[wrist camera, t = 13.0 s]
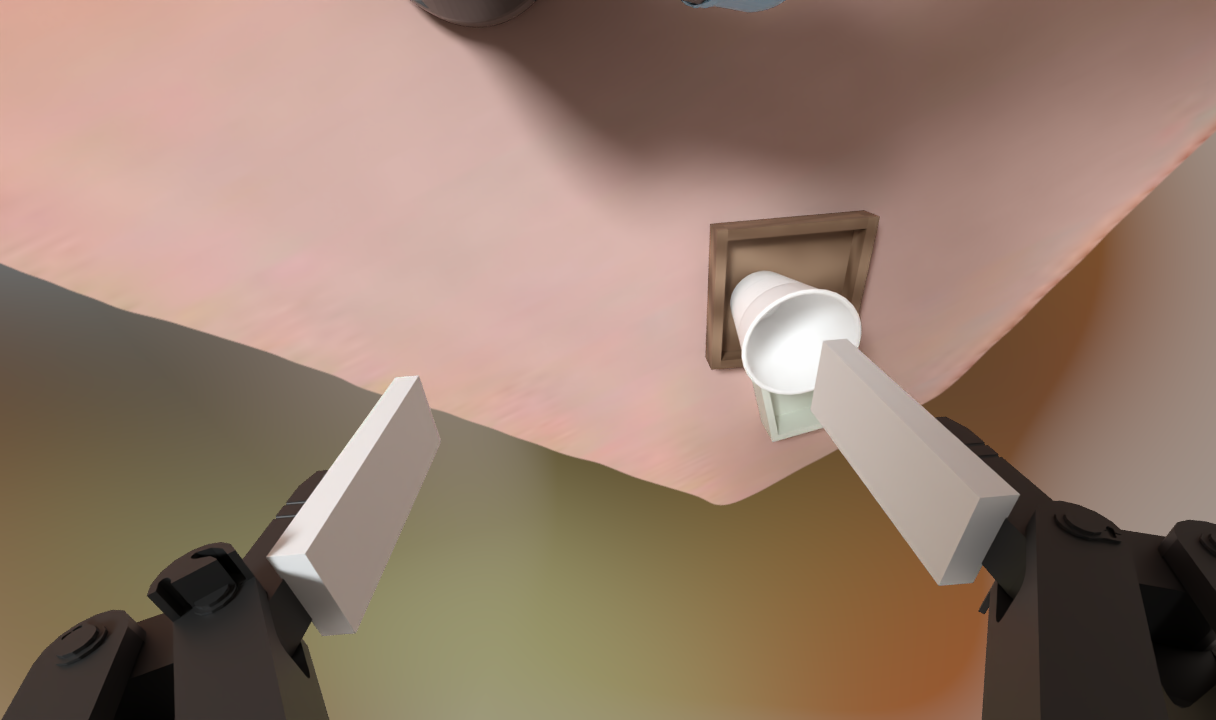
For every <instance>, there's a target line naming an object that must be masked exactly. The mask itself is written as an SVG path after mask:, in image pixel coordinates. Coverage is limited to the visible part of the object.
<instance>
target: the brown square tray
mask: <svg viewBox="0 0 1216 720" xmlns="http://www.w3.org/2000/svg"><path fill="white" fill-rule="evenodd" d="M879 218H880V216H877V215H874V214H872V213H869V212H866V211H864V210H863V211H852V212H841V213H829V214H818V215H807V216H795V217H784V218H772V219H761V220H750V221H738V222H727V223H716V224H710V245H709V274H708V302H707V331H706V359H707V361H708V363H709V366H710V368H711V370H713V369H724V368H736V367H744V366H743V362H742V349H741V346H740V341H739V338H738V334H737V331H736V326H735V323H734V319H733V316H732V312H731V307H730V299H731V295H732V293H733V290H734V289H735V287H736V286H737V284H738V283H739V282H740V281H741V280H742V279H744V278H745V277H746V276H748V275H750V274H752V273H755V272H758V271H772V272H775V273H778V274H780V275H783V276H785V277H788V278H790V279H793V280H796V281H798V282H801V283H804V284H806V285H809V286H812V287H815V288H817V289H825V290H829V291H832V292H836V293H838V294H839V295H841V296H843V297H845V298H846V299H847V300H848V301H849V302H850V303H851V304H852V305H853V306H854V308H855V309H856V311H857V313H858V314H859V310H860V305H861V300H862V296H863V291H864V287H865V282H866V278H867V273H868V269H869V264H870V259H871V255H872V250H873V246H874V241H875V237H876V232H877V228H878V223H879Z"/></svg>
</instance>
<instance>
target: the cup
mask: <svg viewBox="0 0 1216 720" xmlns="http://www.w3.org/2000/svg"><path fill="white" fill-rule="evenodd" d="M730 307H731V312H732V316H733V319H734V323H735V326H736V331H737V334H738V338H739V341H740V346H741V349H742V362H743V366H744V369H745V371H746V373H747V375H748V376H749V377H750V379H751V380H752V381H753V382H754V383H755V384H756V385H758V386H759V387H760V388H762V389H764V390H767V391H769V392H772V393H776V394H783V395H794V394H802V393H806V392H810V391H813V390H814V387H815V382H816V376H817V371H818V365H819V360H820V354H821V349H822V343H823V341H825V340H836V339H848V340H849V341H850V342H851V343H852V344H853V345H854V346H856V347H857V348H858V347H859V344H860V339H861V322H860V318H859V315H858V313H857V311H856V309H855V308H854V306H853V305H852V304H851V303H850V302H849V301H848V300H847V299H846V298H845V297H843V296H841V295H839V294H838V293H836V292H832V291H829V290H825V289H817V288H815V287H812V286H809V285H806V284H804V283H801V282H798V281H796V280H793V279H790V278H788V277H785V276H783V275H780V274H778V273H775V272H772V271H758V272H755V273H752V274H750V275H748V276H746V277H745V278H744V279H742V280H741V281H740V282H739V283H738V284H737V286H736V287H735V289H734V290H733V293H732V295H731V299H730Z"/></svg>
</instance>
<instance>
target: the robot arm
mask: <svg viewBox="0 0 1216 720" xmlns="http://www.w3.org/2000/svg"><path fill="white" fill-rule="evenodd" d="M411 1H412V2H413V3H415V4H416V5H418V6H419V7H421V8H422V9H424V10H426V11H427V12H429V13H431V14H432V15H434V16H436V17H438V18H440V19H443V20H445V21H448V22H451V23H454V24H457V25H462V26H468V27H486V26H493V25H497V24H500V23H503V22H506V21H508V20H510V19H513V18H514V17H516V16H518V15H519V14H521V13H522V12H524V11H525V10H526V9H527V8H529V7H530V6H531V5H532V4H533V3H534V2H535V1H536V0H411ZM681 1H682V2H683V3H684V4H686V5H687V6H690V7H693V8H699V7H702V8H708V7H712V6H716V7H721V8H727V9H733V10H738V11H744V12H757V11H763V10H768V9H770V8H773V7H775V6H777V5H779V4H781V3H782V2H784V1H785V0H681ZM810 410H811V411H812V413H813V414H814V415H815V417H816V418H817V420H818V421H819V422H820V424H821V425H822V426H823V428H824V429H825V431H826V432H827V433H828V435H829V436H830V437H831V439H832V440H833V442H834V443H835V444H836V446H837V447H838V448H839V450H840V451H841V453H842V454H843V455H844V457H845V458H846V459H847V461H848V462H849V463H850V465H851V466H852V468H853V469H854V470H855V472H856V473H857V474H858V476H859V477H860V478H861V480H862V481H863V483H864V484H865V485H866V487H867V488H868V490H869V491H870V492H871V494H872V495H873V496H874V497H875V499H876V500H877V502H878V503H879V505H880V506H881V507H882V509H883V510H884V511H885V513H886V514H887V515H888V517H889V518H890V520H891V521H892V522H893V524H894V525H895V527H896V528H897V529H898V531H899V532H900V533H901V535H902V536H903V538H904V539H905V540H906V542H907V543H908V544H909V546H910V547H911V548H912V550H913V551H914V553H915V554H916V555H917V557H918V558H919V559H920V561H921V562H922V564H923V565H924V566H925V568H926V569H927V570H928V572H929V573H930V574H931V576H932V577H933V578H934V580H935V581H936V582H937V584H938V585H939V586H941V585H953V584H965V583H973V582H974V580H975V578H976V576H977V574H978V573H979V571H980V569H981V567H982V565H983V566H984V567H985V568H986V569H987V571H988V572H989V573H990V574H991V575H992V576H993V578H994V579H995V582H994V584H993V585H992V587H991V589H990V591H989V592H988V594H987V596H986V598H985V599H984V601H983V603H982V605H981V607H980V609H979V612H981V613H983V614H985V613H986V611H987V609H988V608H989V619H988V633H987V648H986V664H985V679H984V694H983V710H982V720H1216V524H1213V523H1209V522H1205V521H1195V520H1186V521H1181V522H1178V523H1177V524H1176V525H1175V526H1174V527H1173V528H1172V530H1171V531H1170V532H1169V534H1168V535H1167V536H1166V537H1164V536H1158V535H1151V534H1145V533H1138V532H1132V531H1126V530H1121V529H1119V528H1118V527H1117V526H1116V525H1115V524H1114V523H1113V522H1112V521H1110V520H1108V519H1107V518H1105V517H1103V516H1102V515H1100V514H1098V513H1097V512H1095V511H1092V510H1090V509H1087V508H1085V507H1082V506H1080V505H1077V504H1073V503H1068V502H1064V501H1053V500H1052V499H1051V498H1049V497H1048V496H1047V495H1046V494H1045V493H1043V492H1042V491H1041V490H1040V489H1039V488H1038V487H1036V486H1035V485H1034V484H1033V483H1032V482H1031V481H1029V480H1028V479H1027V478H1026V477H1025V476H1023V475H1022V474H1021V473H1020V472H1019V471H1018V470H1016V469H1015V468H1014V467H1013V466H1012V465H1011V464H1009V463H1008V462H1007V461H1006V460H1005V459H1003V458H1002V457H999V456H998V453H996V452H995V451H994V450H993V449H992V448H990V447H989V446H988V445H985V444H984V442H983V441H982V440H981V439H980V438H979V437H978V436H976V435H975V434H974V433H973V432H972V431H970V430H969V429H968V428H966V427H964V426H962V425H961V424H959V423H957V422H955V421H953V420H951V419H949V418H947V417H936V418H934V417H933V416H932V415H931V414H930V413H929V412H928V411H926V409H924V408H923V407H922V406H921V405H920V404H919V403H918V402H917V401H916V400H914V399H913V398H912V397H911V396H910V395H909V394H908V393H907V392H906V391H904V390H903V389H902V388H901V387H900V386H899V385H898V384H897V383H896V382H894V381H893V380H892V379H891V378H890V377H889V376H888V375H887V374H886V373H884V372H883V371H882V370H881V369H880V368H879V367H878V366H877V365H876V364H874V363H873V362H872V361H871V360H870V359H869V358H868V357H867V356H866V355H864V354H863V353H862V352H861V351H860V350H859V349H858V348H857V347H856V346H854V345H853V344H852V343H851V342H850V341H849V340H848V339H836V340H825V341H823V343H822V349H821V354H820V360H819V365H818V371H817V376H816V382H815V387H814V393H813V398H812V404H811V409H810ZM440 443H441V439H440V436H439V433H438V430H437V427H436V425H435V422H434V419H433V416H432V413H431V410H430V407H429V404H428V401H427V398H426V395H425V392H424V389H423V386H422V383H421V381H420V378H419V375H418V376H406V377H395V379H394V380H393V381H392V383H391V384H390V386H389V387H388V388H387V390H386V391H385V393H384V394H383V395H382V397H381V398H380V399H379V401H378V402H377V404H376V405H375V406H374V408H373V409H372V411H371V412H370V414H369V415H368V416H367V418H366V419H365V420H364V422H363V423H362V425H361V426H360V427H359V429H358V430H357V431H356V433H355V434H354V436H353V437H352V438H351V440H350V441H349V443H348V444H347V446H346V447H345V448H344V449H343V451H342V452H341V454H340V455H339V456H338V458H337V459H336V461H335V462H334V463H333V465H332V466H331V468H330V469H329V470H323V471H317V472H316V473H314V474H313V475H312V476H311V477H309V478H308V479H307V480H306V481H304V482H303V483H302V484H301V485H300V486H299V487H298V488H297V489H296V490H295V492H294V493H293V495H292V496H291V497H290V498H289V500H288V501H287V504H286V505H285V506H283V507H282V509H281V510H280V511H279V513H278V514H277V515H276V519H273V520H272V522H271V523H270V524H269V526H268V527H267V528H266V530H265V531H264V532H263V533H262V535H261V536H260V538H259V539H258V540H257V541H256V543H255V544H254V545H253V546H252V548H251V549H250V551H249V552H248V553H247V554H246V556H245V557H244V558H243V559H242V558H241V557H240V556H239V554H237V552H236V550H235V549H234V548H233V547H232V545H231V544H228V543H222V542H219V543H213V544H208V545H205V546H202V547H200V548H197V549H194V550H192V551H190V552H188V553H187V554H185V555H184V556H182V557H180V558H178V559H177V560H175V561H174V562H173V563H172V564H170V565H169V566H168V567H167V568H166V569H164V570H163V571H162V572H161V573H160V574H159V575H158V577H157V578H156V579H155V580H154V581H153V583H152V584H151V586H150V589H149V591H148V594H147V596H148V597H149V598H150V599H151V600H152V601H153V602H154V603H155V605H156V606H157V607H159V608H160V610H161V611H162V612H163V614H160V615H157V616H154V617H151V618H149V619H145V620H143V621H140V622H135V621H134V620H133V619H132V618H131V617H130V616H129V615H128V614H127V613H126V612H125V611H123V610H111V611H107V612H104V613H100V614H97V615H95V616H93V617H90V618H89V619H86V620H85V621H82V622H80V623H78V624H77V625H76V626H74V627H72V628H71V629H70V630H68V631H66V632H65V633H63V634H62V635H61V636H59V637H58V638H57V639H56V640H55V641H54V642H53V643H51V644H50V645H49V646H48V647H47V648H46V649H45V650H44V651H43V652H42V654H41V655H40V656H39V657H38V659H37V660H36V661H35V662H34V664H33V665H32V667H31V669H30V671H29V672H28V674H27V676H26V677H25V679H24V681H23V683H22V685H21V686H20V688H19V690H18V692H17V694H16V695H15V697H14V699H13V700H12V703H11V704H10V706H9V707H8V709H7V711H6V713H5V715H4V716H3V718H2V720H329V717H328V714H327V711H326V707H325V703H324V700H323V697H322V693H321V690H320V686H319V683H318V680H317V676H316V673H315V669H314V666H313V662H312V659H311V656H310V652H309V649H308V646H307V645H306V643H305V642H304V640H303V639H302V638H303V636H304V634H305V632H306V630H307V629H308V627H309V625H310V623H311V621H312V622H313V624H314V625H315V627H316V628H317V629H318V631H319V632H320V634H321V635H322V636H327V635H340V634H352V633H356V632H357V629H358V627H359V625H360V623H361V620H362V618H363V616H364V614H365V611H366V609H367V607H368V604H369V602H370V600H371V598H372V595H373V593H374V591H375V589H376V587H377V584H378V582H379V580H380V578H381V575H382V573H383V571H384V568H385V566H386V564H387V562H388V560H389V557H390V555H391V553H392V551H393V548H394V546H395V544H396V542H397V539H398V537H399V535H400V533H401V530H402V528H403V526H404V524H405V521H406V519H407V517H408V515H409V512H410V510H411V508H412V506H413V503H414V501H415V499H416V497H417V494H418V492H419V490H420V488H421V485H422V483H423V481H424V479H425V476H426V474H427V472H428V470H429V467H430V465H431V463H432V460H433V458H434V456H435V454H436V452H437V449H438V447H439V445H440Z"/></svg>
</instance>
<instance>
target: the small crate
mask: <svg viewBox="0 0 1216 720" xmlns="http://www.w3.org/2000/svg"><path fill="white" fill-rule="evenodd" d="M752 383H753V387H754V391H755V396H756V400H757V405H758V409H759V413H760V418H761V422H762V424H763V425H764V427H765V429H766V431H767V433H768V435H769V436H770V438H771V440H772V442H775V441H779V440H782V439H786V438H789V437H793V436H796V435H800V434H803V433H807V432H810V431H814V430H817V429H821V428H823V426H822V425H821V424H820V422H819V421H818V420H817V418H816V417H815V415H814V414H813V413H812V411H811V410H810V409H811V404H812V398H813V393H814V390H813V391H810V392H806V393H802V394H794V395H783V394H776V393H772V392H769V391H767V390H764V389H762V388H760V387H759V386H758V385H756V384H755V383H754V382H753V381H752Z"/></svg>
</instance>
